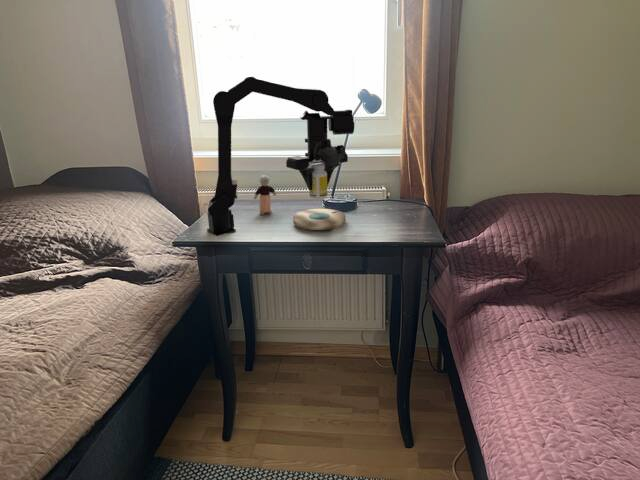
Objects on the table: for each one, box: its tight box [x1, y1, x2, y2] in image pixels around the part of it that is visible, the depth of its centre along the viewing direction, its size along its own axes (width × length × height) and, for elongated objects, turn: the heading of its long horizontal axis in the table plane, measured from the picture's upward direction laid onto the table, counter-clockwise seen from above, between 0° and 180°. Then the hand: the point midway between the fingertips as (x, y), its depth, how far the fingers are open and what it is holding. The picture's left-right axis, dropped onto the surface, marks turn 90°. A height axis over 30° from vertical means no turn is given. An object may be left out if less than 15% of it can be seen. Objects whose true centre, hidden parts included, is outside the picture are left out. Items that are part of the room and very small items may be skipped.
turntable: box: [292, 208, 347, 231], centre depth 140 cm, size 16×16×2 cm
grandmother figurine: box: [253, 175, 277, 216], centre depth 151 cm, size 8×4×13 cm, turn 129°
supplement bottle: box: [308, 162, 328, 200], centre depth 136 cm, size 5×5×10 cm
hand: (318, 188), depth 137 cm, fingers closed on supplement bottle, 5 cm apart
